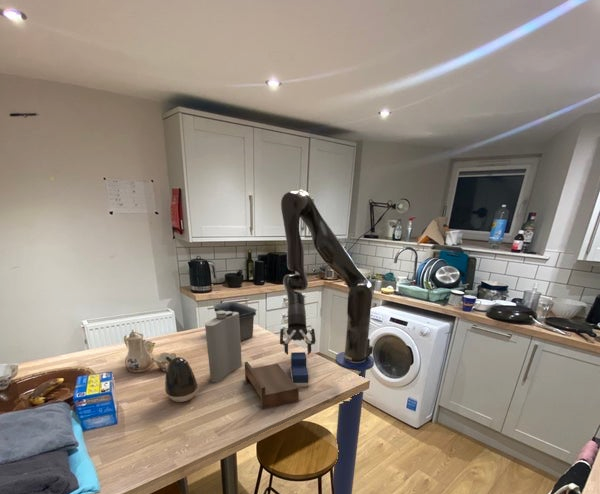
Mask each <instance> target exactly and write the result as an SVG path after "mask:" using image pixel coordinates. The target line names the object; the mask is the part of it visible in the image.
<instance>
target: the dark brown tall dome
mask: <svg viewBox="0 0 600 494" xmlns="http://www.w3.org/2000/svg"><path fill="white" fill-rule="evenodd" d="M166 360H167V361H168V362H169V365H168V367H167V371H165V377H164V388H165V390H164V391H165V394H166V395H167V396H168V398H169V399H170V400H172V401H174V402H177V403H183V402H187V401H189V400H191V399H192V398H193V397H194V396H195V395H196V392H197V389H198V382H197V379H196V376H195V374H194V371H193V369H192V367H191V366H190V363H189V362H188V361H187V360H186V359H185V358H183V357H180V356H176V358H173V359H171V358H169V357H166Z"/></svg>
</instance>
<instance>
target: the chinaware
mask: <svg viewBox="0 0 600 494" xmlns="http://www.w3.org/2000/svg"><path fill="white" fill-rule="evenodd" d="M123 341H124V345H125V346H126V348H127V349H128V350H127V354H126V357H125V359H124V365H125V368H127V369H128V371H129V372H131V373H143V372H146V371H148V370H151V369H152V368H153V364H154V363H156V366H157V367H158V368H160V369H161V371H163V372H166V371H167V367H168V365H169V362H168V361H167V360H166V357H169V358H171V359H173V358H176V357H177V354H176V353H174V352H171V353H169V352H162V353H160V354H157V355H154V356H153V355H152V353H153V352H154V349H155V345H156V342H152V341H151V340H146V339H144V334H143V333H139V332H137V331H136V330H135V329H132V330H131V332H130V333H129V334H125V335H124V336H123Z"/></svg>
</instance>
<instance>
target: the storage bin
mask: <svg viewBox="0 0 600 494" xmlns="http://www.w3.org/2000/svg"><path fill="white" fill-rule="evenodd" d="M212 307H213V310H214V312H216V311H226V312H227V311H231V312H238V313H239V323H240V340H241V341H244V340H248V339H250V338H252V337H253V336H254V320H255V316H256V315H257V309H256V308H253V307H252V306H249V305H245V304H242V303H239V302H237V301H226V302H225V301H224V302H222V303H218V304H213V306H212Z"/></svg>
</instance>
